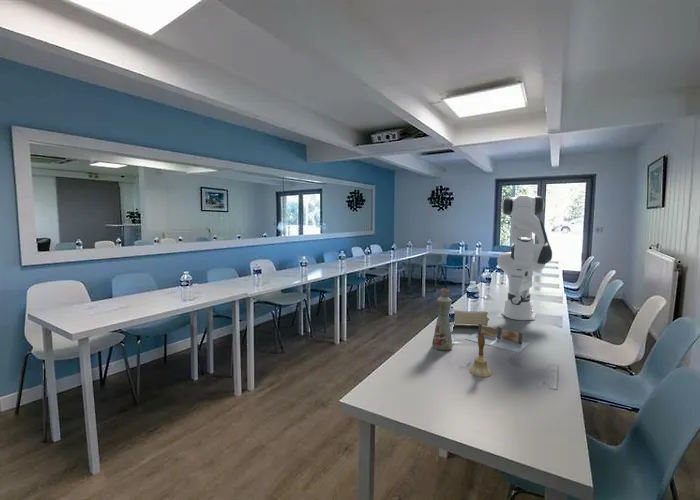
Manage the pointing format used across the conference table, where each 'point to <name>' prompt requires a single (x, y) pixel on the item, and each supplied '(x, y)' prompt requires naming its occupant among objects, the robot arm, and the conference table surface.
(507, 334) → the fence flap
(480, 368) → the hand bell
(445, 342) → the bottle
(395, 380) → the conference table surface
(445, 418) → the conference table surface
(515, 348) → the card
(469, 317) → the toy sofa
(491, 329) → the fence fixed
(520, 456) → the conference table surface
